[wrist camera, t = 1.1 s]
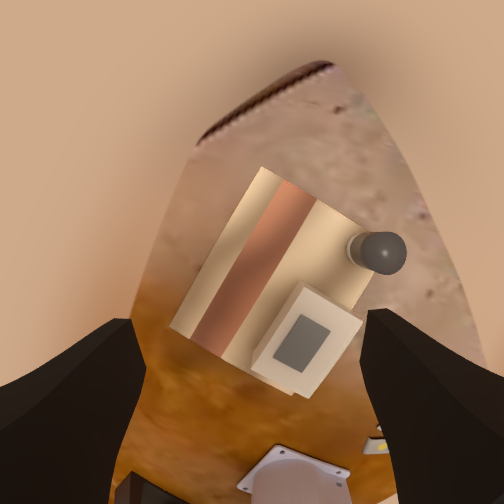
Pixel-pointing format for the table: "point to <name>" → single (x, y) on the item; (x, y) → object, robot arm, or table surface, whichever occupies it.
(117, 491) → the phone stand
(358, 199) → the table surface
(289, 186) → the panel
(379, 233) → the grey capped cylinder
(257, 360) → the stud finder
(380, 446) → the usb flash drive
